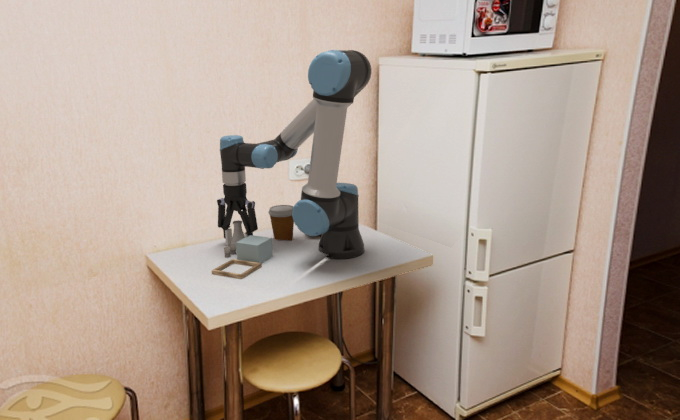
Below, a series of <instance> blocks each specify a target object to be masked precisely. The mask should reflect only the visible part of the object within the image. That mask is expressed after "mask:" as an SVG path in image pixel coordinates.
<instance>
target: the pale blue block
mask: <svg viewBox="0 0 680 420" xmlns="http://www.w3.org/2000/svg"><path fill="white" fill-rule="evenodd" d="M273 254H274V253H273V240H272V237H269V236H260V235H254V234H253V235H250V236H248V237H246V238H244V239H242V240H240V241H238V242H236V259H237V260H243V261H250V262H256V263H262V264H263V263H265V262H266V261H267V260H269V259H271V258H273Z"/></svg>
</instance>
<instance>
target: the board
mask: <svg viewBox="0 0 680 420" xmlns="http://www.w3.org/2000/svg"><path fill="white" fill-rule="evenodd" d="M223 249H224V258H226V259H227V258H231V256H232V255H237V250H236V247H235V244H231V245H230V246H225V247H224V248H223ZM262 264H263V262H262V263H256V262H250V261H243V260H237V258H232V259H230V260H228V261H227V262H225V263H223V264H221V265H219V266H217V267H216V268H213V269H211V275H215V276H220V277H226V278H231V279H232V278H233V279H239V280H242V279H245V278H246V277H248V276H249V275H251V274H253V273H254V272H256V271H258V270H259V269H261V268H262V266H263V265H262ZM232 265H241V266H248V267H250V268H248V269H247V270H244V272H242V273H236V272H230V271H225V270H224V269H227V268H228V267H230V266H232Z"/></svg>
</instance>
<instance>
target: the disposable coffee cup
mask: <svg viewBox="0 0 680 420" xmlns="http://www.w3.org/2000/svg"><path fill="white" fill-rule="evenodd" d="M293 207H294V205H290V204H276V205H273V206H271V207H269V209H268V210H269V211H268V212H267V213H268V216H269V218H270V224H271V229H272V234H273V239H275V240H277V241H291V242H292V241H293V237H294V226H295V223H294V221H293V217H292V210H293Z"/></svg>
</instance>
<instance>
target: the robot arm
mask: <svg viewBox="0 0 680 420" xmlns="http://www.w3.org/2000/svg"><path fill="white" fill-rule="evenodd" d="M371 77H372V66H371V62H370V60H369V58H368V57H366V55H365V54H363V53H362V52H360V51H357V50H353V49H351V50H350V49H346V50H343V49H342V50H341V49H340V50H339V49H338V50H337V49H330V50H326V51H323V52H320V53H319V54H317V55H316V56H314V58H313V59H312V61H310V64H309V67H308V71H307V80H308V84H310V87H311V89H312V90H313V93H312V98H313V99H312V100H311V101H310V102H309V103H308V104H306V106H305V107H304V108H303V109H302V110H301V111H300V112H299V113H298V114H297V115H296V116H295V117H294V118H293V119H292V121H291V122H289V124H288V125H287V126H286V127H284V129H283V130H282V131H281V132H280V133H279V134H278V135H277V136H276V137H275V138H274V139H270V140H266V141H262V142H258V143H249V142H248V143H247V142H245V141H244V137H243V136H242V135H239V134H238V135H237V134H233V135H224V136H222V137H221V138H220V139H219V153H220V154H219V155H220V163H221V177H222V179H221V180H222V181H221V182H222V183H223V184H222V188H223V189H222V190H223V196H224V197H221V198H218V199H217V200H216V203H217V227H218V228H221V229H222V231H223V238H224V239H225V247H230V244H231V241H232V237H233V232H232V231H233V230H232V228H231V223H232V220H233V219H232V218H233V216H234V212H237V213H238V215H239V216H240V218H241V219H240V220H241V221H242V224H243V227H244V229H245V232H243V233H244V236H245V238H246V237H248V236H250V235H254V232H256V231H257V230H258V229H259V227H258V221H257V215H256V211H255V209H256V208H255V207H256V202H255V201H254V200H248V198H247V193H248V192H247V191H248V190H247V183H246V181H247V179H246V176H247V175H246V167H247V168H256V169H261V170H263V169H272V168H274V166H276V164H277V163H279V162H283V161H288V160H291V159H292V158H294V157H295V156H296V155H297V153H298V149H299V147H301V146H302V145H303V144H304V143H305V142H306V141H307V140H308V139H309V138H310V137H311V136H312V135H313V136H312V137H313V138H312V145H311V153H310V154H311V155H310V162H309V170H308V179H307V183H306V184H304V185H302V187H301V192H300V193H301V194H300V199H299V200H298V201H297V202H296V203H295V204H294V205H293V210H292V217H293V221H294V226H296V227H297V229H298V230H299V231H300V232H301V233H302V234H304V235H306V236H310V237H317V236H320V239H319V242H318V251H319V252H320V253H321V254H325V255H326V256H325V258H328V259H335V260H337V259H338V260H339V259H340V260H342V259H343V260H344V259H352V258H353V259H354V258H356V257H359V256H361V255H362V254H364V253H365V243H364V241H363V238H362V237H363V236H362V234H361V232H360V228H359V226H360V225H359V222H360V221H359V220H360V219H359V190H358V189H359V188H358V186H357V185H356V184H353V183H348V182H338V176H339V170H340V162H341V155H342V148H343V147H342V146H343V141H344V133H345V126H346V120H347V114H348V109H349V107H350V106H352V105H353V104H354V99H355V97H356V96H357V95H358V94H359V93H360V92H362V91H363V89H364V88H366V86H367V85H368V84H369V82H370V80H371ZM320 234H322V235H320Z"/></svg>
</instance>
